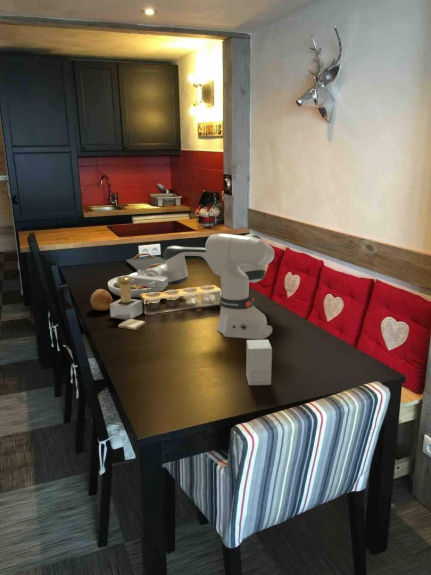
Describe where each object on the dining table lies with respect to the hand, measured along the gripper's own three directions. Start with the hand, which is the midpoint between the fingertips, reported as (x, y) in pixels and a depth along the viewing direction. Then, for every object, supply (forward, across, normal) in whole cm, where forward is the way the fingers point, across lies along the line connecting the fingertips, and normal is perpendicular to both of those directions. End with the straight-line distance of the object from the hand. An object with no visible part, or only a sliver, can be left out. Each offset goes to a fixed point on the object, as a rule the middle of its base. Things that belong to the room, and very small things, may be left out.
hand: (139, 284), depth 221 cm
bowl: (-24, +16, -12) cm, 31 cm away
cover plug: (+11, 0, -11) cm, 16 cm away
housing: (+11, 0, -11) cm, 16 cm away
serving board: (-69, +35, -12) cm, 78 cm away
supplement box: (+47, -73, -11) cm, 88 cm away
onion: (+10, +14, -11) cm, 21 cm away
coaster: (+21, -9, -11) cm, 26 cm away
